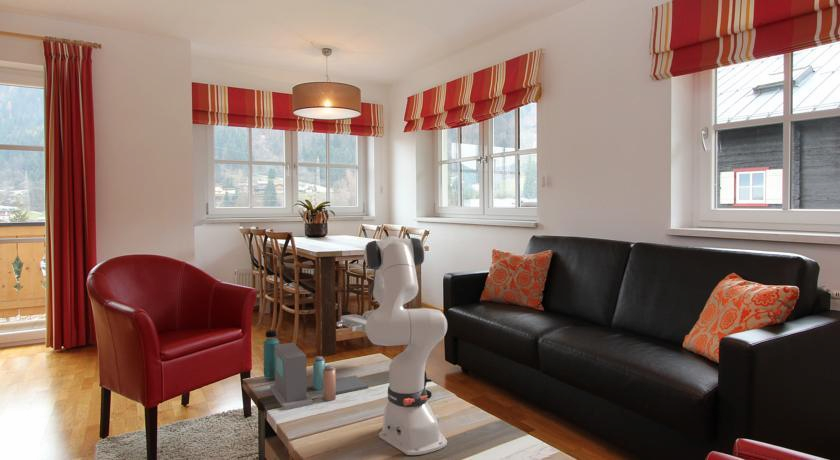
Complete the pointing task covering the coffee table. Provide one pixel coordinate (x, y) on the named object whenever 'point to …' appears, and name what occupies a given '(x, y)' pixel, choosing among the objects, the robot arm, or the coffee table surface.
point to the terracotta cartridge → (329, 383)
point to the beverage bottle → (270, 354)
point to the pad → (349, 384)
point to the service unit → (290, 377)
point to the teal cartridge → (318, 372)
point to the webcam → (425, 385)
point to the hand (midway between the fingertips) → (344, 326)
